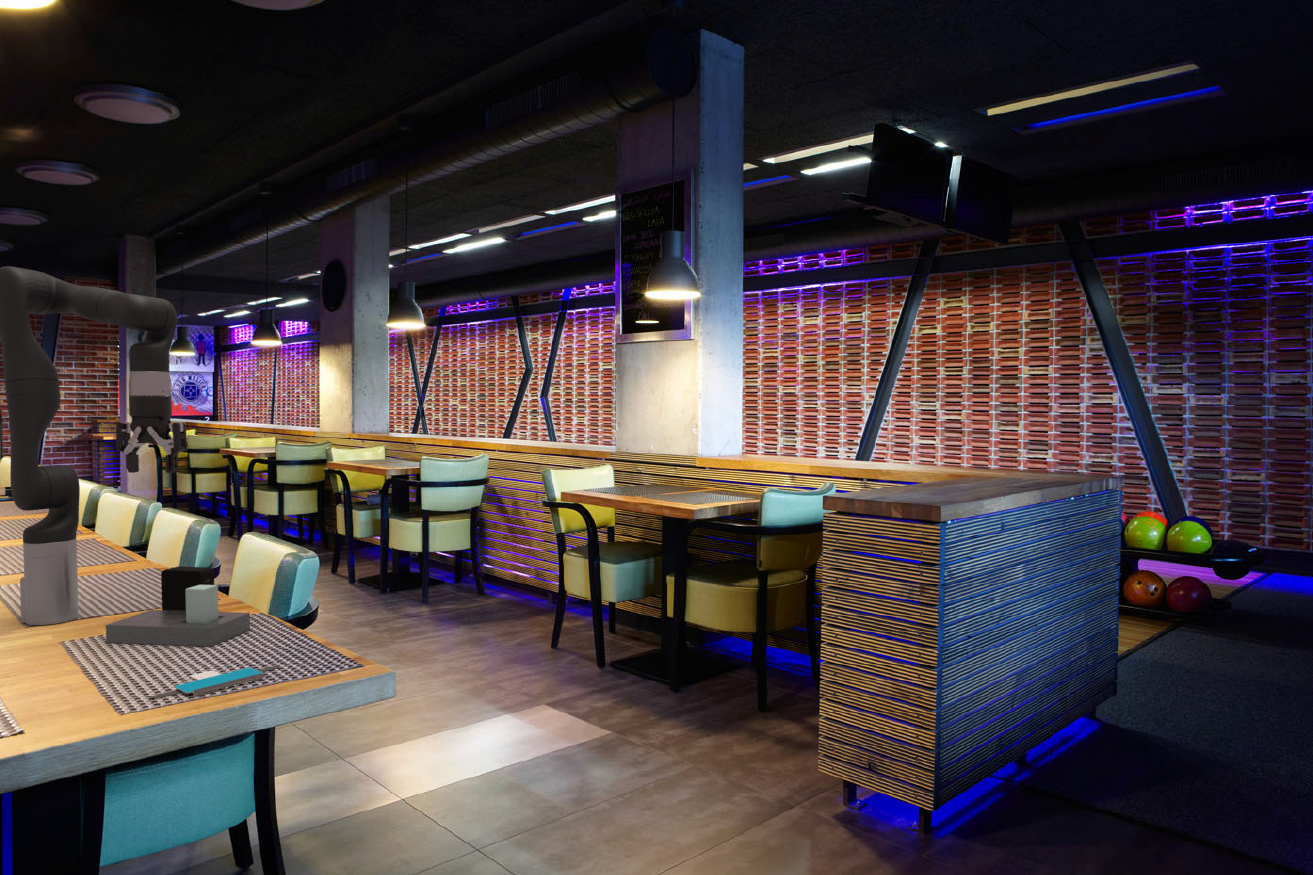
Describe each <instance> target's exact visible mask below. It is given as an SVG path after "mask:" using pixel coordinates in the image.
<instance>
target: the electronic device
mask: <svg viewBox="0 0 1313 875" xmlns="http://www.w3.org/2000/svg"><path fill="white" fill-rule="evenodd" d="M160 577H161V578H160V583H161V610H174V611H186V589H187V588H190V587H194V586H197V585H215V570H214V569H213V568H212V567H207V566H205V567H203V566H202V567H201V566H179V565H177V566H175V567H173V566H172V567H169V568H165V569H162V571H161V572H160Z"/></svg>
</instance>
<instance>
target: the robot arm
mask: <svg viewBox="0 0 1313 875" xmlns="http://www.w3.org/2000/svg"><path fill="white" fill-rule="evenodd" d="M29 314H33V315H43V314H44V315H45V314H48V315H49V314H69V315H76V316H78V317H81V318H84V319H87V320H89V321H94V322H98V323H104V324H109V325H115V326H118V327H121V328H126V329H130V330H134V331H144V332H145V331H146V332H145V333H146V334H145V336H144V340H143V342H142V341H141V342H137V343H133V344H132V345H130V347H129V350H128V353H129V355H128V357H129V358H128V359H129V366H128V367H129V377H128V413H129V414H128V415H129V417H131V422H129V421H123V422H117V423H116V430H115V431H116V432H115V433H116V435H115V449H116V451H117V452H121V453H123V454H125V465H126V466H125V467H126V468H125V469H126V470H127V472H128V473H129V474H133V473H135V474H136V473H138V472H139V471H140V465H139V464H140V457H139V454H138V453H139V451H140V450H141V448H143V446H145V445H146V444H157V445H158V446H159V447H161V448H162V449H163V450H164V452H165V453H166V454H165V458H164V460H165V473H166V474H175V473H176V472H177V471H178V469H179V454H180V453H183V452H187V451H188V438H187V436H188V435H187V426H186V425H187V424H186V423H185V422H182V421H178V422H177V421H176V422H171V417H172V415H173V403H172V402H173V401H172V379H171V375H170V351H171V347H172V345H173V340H174V336H175V333H176V330H177V325H178V313H177V310H176V308H175V306H174V305H173V304H172V303H171V301H169V300H167V299H164V298H160V297H159V298H158V297H153V296H147V295H146V296H145V295H140V294H139V295H138V294H135V293H134V294H133V293H127V292H126V293H125V292H122V291H118V290H114V289H108V288H103V287H98V286H84V285H83V286H81V285H77V284H73V283H69V282H67V281H65V280H62V279H60V278H57V277H54V276H52V275H50V274H47V273H45V272H43V271H42V272H41V271H37V270H32V269H28V268H22V267H16V266H7V265H6V266H5V265H4V266H1V267H0V347H1V348H0V349H1V353H2V362H3V363H2V364H3V372H4V373H3V374H4V379H3V380H4V388H5V390H4V392H5V399H6V405H7V406H6V407H7V412H8V424H9V436H10V491H11V496H12V500H13V502H14V504H15V506H16V507H17V508H18V509H19V510H21V511H24V512H25V511H28V512H29V511H39V510H40V511H41V510H47V509H48V512H47V515H46V516H45V517H44V518H42V519H41V520H39V521H38V522H36V523H34V524H31V525H29V526H28V527H26V528H25V529H23V532H22V550H23V551H22V552H23V554H22V555H23V556H22V557H23V577H21V578H19V591H20V593H19V595H20V623H22V624H23V623H24V624H26V625H29V626H46V625H53V624H54V625H55V624H62V623H66V622H70V621H74V620H76V619H78V618H79V617H80V615H79V613H80V612H79V611H80V609H79V579H78V578H79V576H78V575H79V574H78V547H77V546H78V544H77V543H78V542H77V531H78V527H79V522H80V497H81V495H80V491H81V490H80V488H81V487H80V480H79V476H78V473H77V472H76V469H74V468H73V467H72V466H71V465H67V464H52V465H39V449H40V444H41V440H42V439H43V436H44V434H45V433H46V431H47V429H48V427H49V426H50V425H51V423H52V421H53V420H54V418H55V416H56V415H57V413H58V411H59V409H60V406H61V399H62V398H61V390H60V379H59V374H58V370H57V368H56V366H55V365H54V363H53V362H52V360H51V359H50V357H49V356H48V355H47V353H46V352H45V350H44V349H43V348H42V346H41V345H40V343H39V342H38V341H37V338H36V337H35V336H34V333H33V330H32V326H31V323H30V322H31V321H30V316H29ZM170 432H171V433H172V435H171V434H170ZM131 433H133V434H132V435H131Z"/></svg>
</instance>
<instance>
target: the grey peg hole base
mask: <svg viewBox="0 0 1313 875" xmlns="http://www.w3.org/2000/svg"><path fill="white" fill-rule="evenodd" d="M250 615H251V613H250V612H236V611H235V612H233V611H231V612H229V611H218V617H219V619H217V620H214V621H212V622H209V623H207V624H203V623H186V611H174V610H162V609H150V610H147V611H144V612H141V613H138V614H135V615H132V616H130V617H129V616H128V617H125V618H122V619H119V620H117V621H114V622H110V623H107V624H105V637H106V638H105V641H106V642H105V643H106V644H127V645H128V644H130V645H150V646H151V645H153V646H154V645H155V646H157V645H158V646H180V647H204V648H205V647H210V648H211V647H214V646H216V645H219V644H221V643H223V642H225V641H228V640H229V639H233V638H235V637H237V636H239V635H242V634H243V633H245V632H249V631H250V630H251V619H250V618H251V616H250Z"/></svg>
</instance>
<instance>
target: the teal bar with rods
mask: <svg viewBox="0 0 1313 875" xmlns="http://www.w3.org/2000/svg"><path fill="white" fill-rule="evenodd" d="M279 668H280V666H277V665H272V666H269V667H265V668H260V669H255V668H253V667H247V668H242V669H238V670H233V671H229V672H226V673H222V674H220V673H219V672H217V671H214V670H208V671H204V672H199V673H196V674H192V675H191V674H190V675H189V677H190V678H192V679H194V680H193V681H189V682H185V683H180V684H177V685H175V686H174V688H175V690H172V691H168V692H167V691H166V692H164V693H160V694H156V695H152V696H149V698H150V699H152V698H156V699H159V698H163V697H169V696H174V695H178V694H180V695H182V696H183V695H186V694H187V695H188V696H192V694H193V698H196V697H200V696H203V694H204V695H206V693H208V694H210V693H209V692H212V693H214V692H213V691H215V692H217V691H216V690H219V689H223V688H226V687H230V686H234V685H238V684H242V683H245V682H249V681H254V682H258V681H261V680H260V679H262V680H263V679H264V673H266V672H268V671H271V670H275V669H279ZM257 680H258V681H257ZM219 691H220V690H219Z"/></svg>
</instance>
